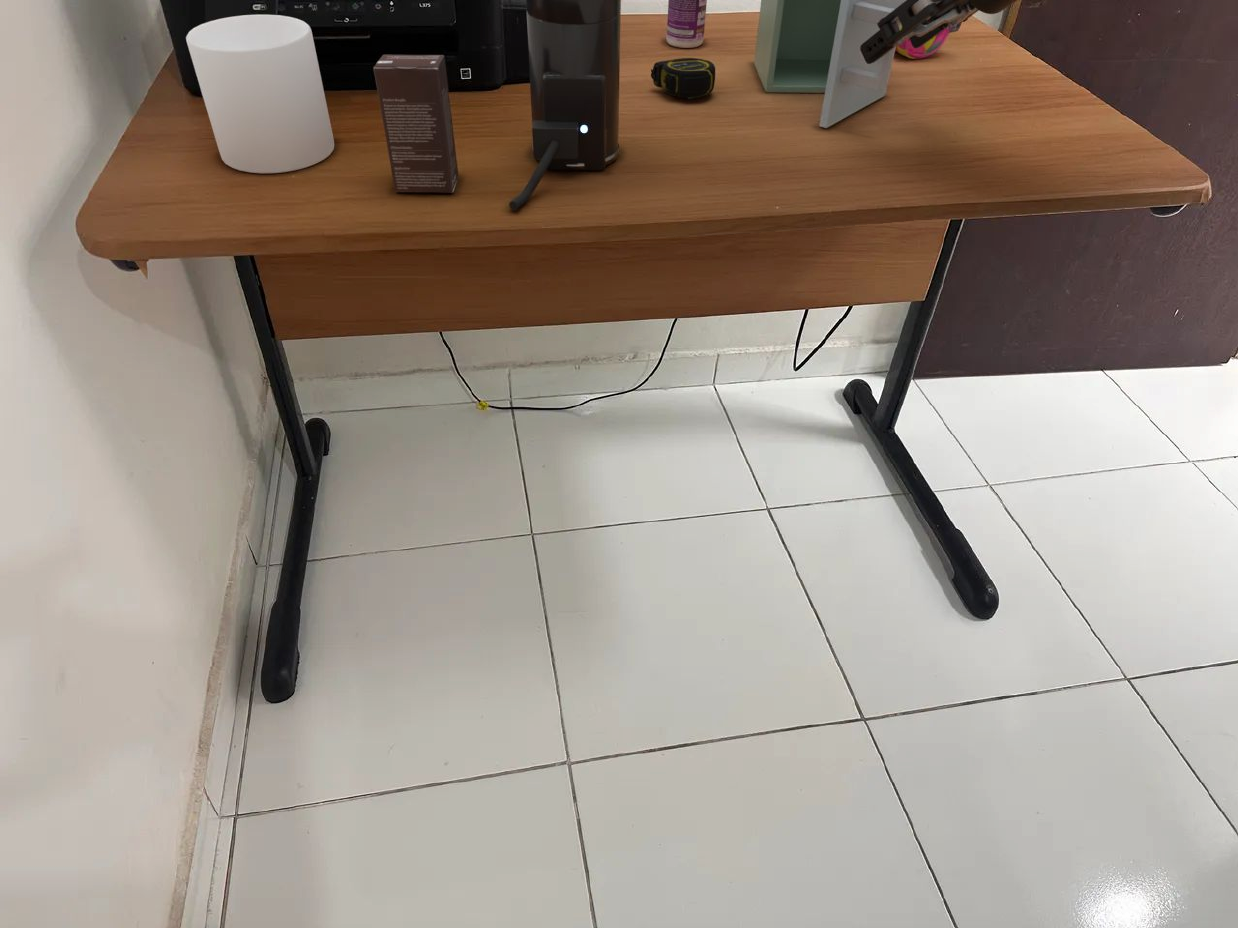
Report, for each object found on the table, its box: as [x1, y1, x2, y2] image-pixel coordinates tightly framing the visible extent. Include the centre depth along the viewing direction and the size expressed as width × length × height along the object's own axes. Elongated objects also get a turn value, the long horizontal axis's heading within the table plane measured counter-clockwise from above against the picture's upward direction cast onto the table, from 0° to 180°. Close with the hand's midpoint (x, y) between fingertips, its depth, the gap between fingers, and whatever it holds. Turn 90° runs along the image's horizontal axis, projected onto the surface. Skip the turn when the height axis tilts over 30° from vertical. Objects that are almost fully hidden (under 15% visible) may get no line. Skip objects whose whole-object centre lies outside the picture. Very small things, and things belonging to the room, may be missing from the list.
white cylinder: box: [185, 14, 335, 174], centre depth 89 cm, size 12×12×12 cm
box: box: [373, 54, 460, 194], centre depth 84 cm, size 6×4×12 cm
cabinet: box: [753, 0, 841, 94], centre depth 108 cm, size 11×15×17 cm
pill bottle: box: [665, 0, 708, 49], centre depth 120 cm, size 5×5×10 cm
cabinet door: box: [818, 0, 906, 129], centre depth 98 cm, size 6×15×16 cm, turn 140°
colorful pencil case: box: [895, 22, 963, 60], centre depth 123 cm, size 22×9×9 cm, turn 26°
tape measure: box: [650, 57, 716, 100], centre depth 107 cm, size 7×7×4 cm
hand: (888, 48), depth 94 cm, fingers open, 8 cm apart
